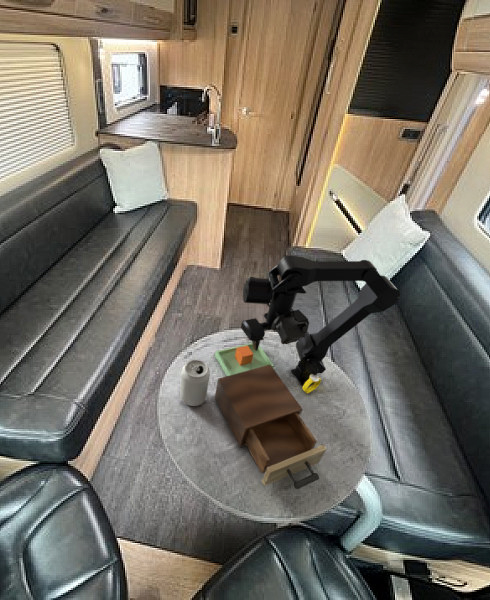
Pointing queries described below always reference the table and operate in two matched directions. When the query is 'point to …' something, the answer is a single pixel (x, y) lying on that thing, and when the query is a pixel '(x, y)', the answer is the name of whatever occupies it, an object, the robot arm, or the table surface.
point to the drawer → (284, 450)
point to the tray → (232, 365)
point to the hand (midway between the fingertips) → (269, 346)
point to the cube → (243, 355)
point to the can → (194, 382)
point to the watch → (311, 379)
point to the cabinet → (254, 400)
